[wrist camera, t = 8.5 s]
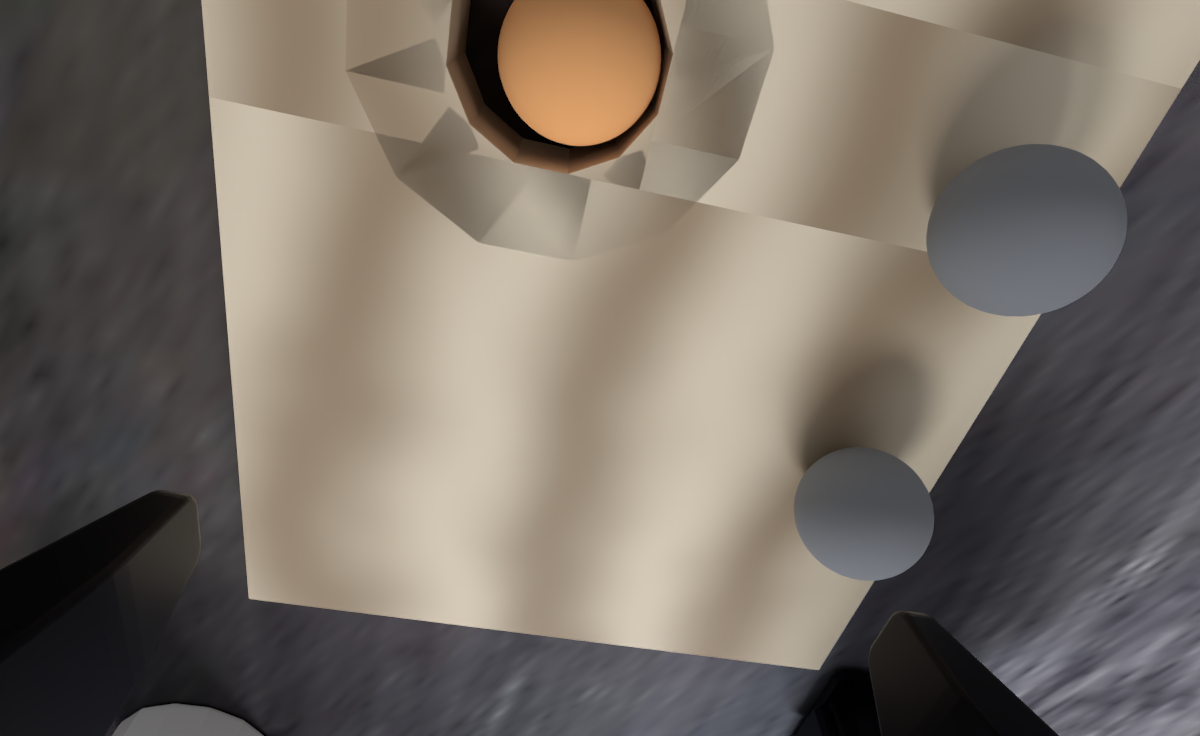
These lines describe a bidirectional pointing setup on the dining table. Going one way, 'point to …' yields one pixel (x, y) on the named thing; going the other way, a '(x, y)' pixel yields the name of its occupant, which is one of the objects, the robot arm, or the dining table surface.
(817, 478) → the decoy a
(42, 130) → the dining table surface
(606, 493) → the board
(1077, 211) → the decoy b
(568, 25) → the ball
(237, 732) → the white cup
